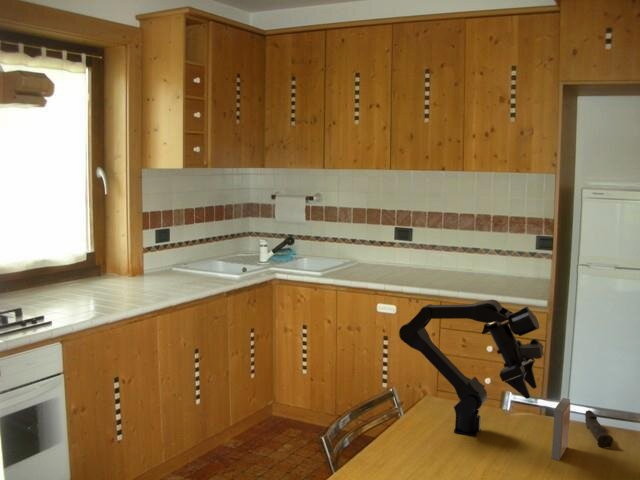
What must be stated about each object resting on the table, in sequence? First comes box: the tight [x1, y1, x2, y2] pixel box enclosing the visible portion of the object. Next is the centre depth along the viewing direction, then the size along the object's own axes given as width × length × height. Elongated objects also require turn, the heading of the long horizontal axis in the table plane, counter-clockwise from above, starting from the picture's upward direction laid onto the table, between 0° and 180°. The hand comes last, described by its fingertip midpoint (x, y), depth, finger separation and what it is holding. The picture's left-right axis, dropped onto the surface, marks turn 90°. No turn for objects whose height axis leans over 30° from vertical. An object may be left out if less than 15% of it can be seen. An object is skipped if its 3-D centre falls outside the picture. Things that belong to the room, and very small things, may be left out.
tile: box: [551, 397, 572, 461], centre depth 183 cm, size 2×10×14 cm, turn 149°
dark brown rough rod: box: [584, 409, 614, 448], centre depth 197 cm, size 19×4×5 cm, turn 171°
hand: (531, 393), depth 188 cm, fingers open, 9 cm apart
